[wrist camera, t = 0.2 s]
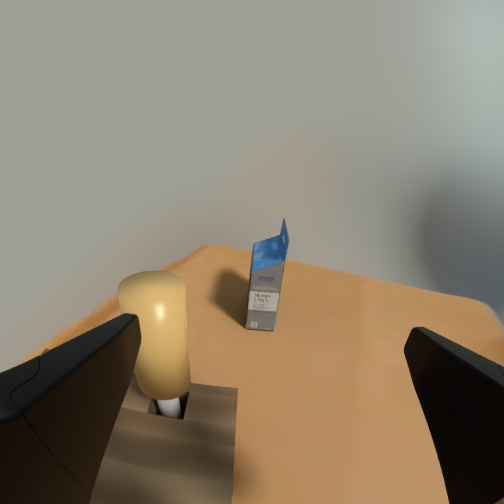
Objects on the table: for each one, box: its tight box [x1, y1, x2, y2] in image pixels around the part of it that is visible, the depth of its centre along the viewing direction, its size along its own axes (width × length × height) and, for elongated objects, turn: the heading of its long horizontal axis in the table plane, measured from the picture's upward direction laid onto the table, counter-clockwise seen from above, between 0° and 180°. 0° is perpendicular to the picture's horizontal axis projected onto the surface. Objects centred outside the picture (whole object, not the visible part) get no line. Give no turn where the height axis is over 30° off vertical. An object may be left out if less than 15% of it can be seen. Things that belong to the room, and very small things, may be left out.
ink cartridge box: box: [246, 219, 289, 331], centre depth 36 cm, size 9×4×12 cm, turn 178°
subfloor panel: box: [40, 349, 238, 504], centre depth 14 cm, size 16×20×3 cm
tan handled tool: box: [117, 271, 191, 419], centre depth 18 cm, size 4×4×14 cm
